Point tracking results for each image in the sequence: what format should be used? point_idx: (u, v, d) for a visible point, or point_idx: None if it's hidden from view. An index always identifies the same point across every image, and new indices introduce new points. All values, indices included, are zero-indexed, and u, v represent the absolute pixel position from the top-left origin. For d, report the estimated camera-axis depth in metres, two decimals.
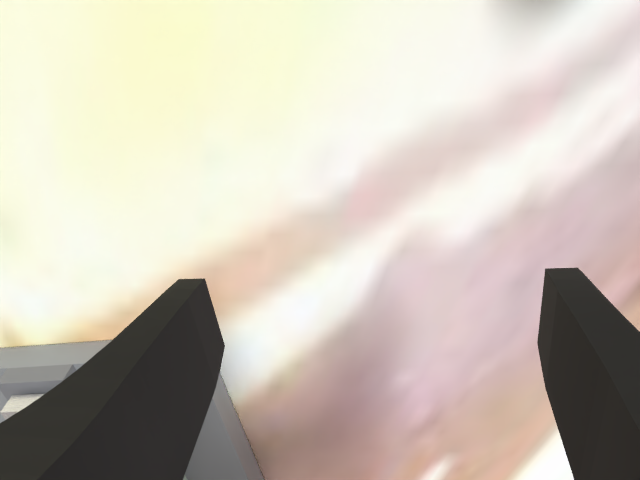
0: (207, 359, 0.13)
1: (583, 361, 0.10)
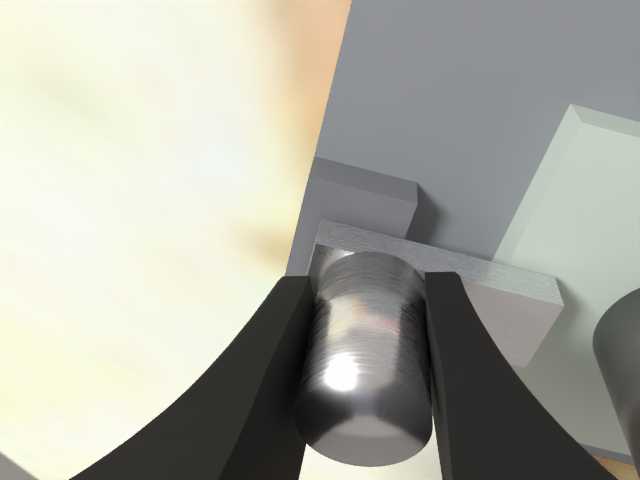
0: None
1: (436, 362, 0.10)
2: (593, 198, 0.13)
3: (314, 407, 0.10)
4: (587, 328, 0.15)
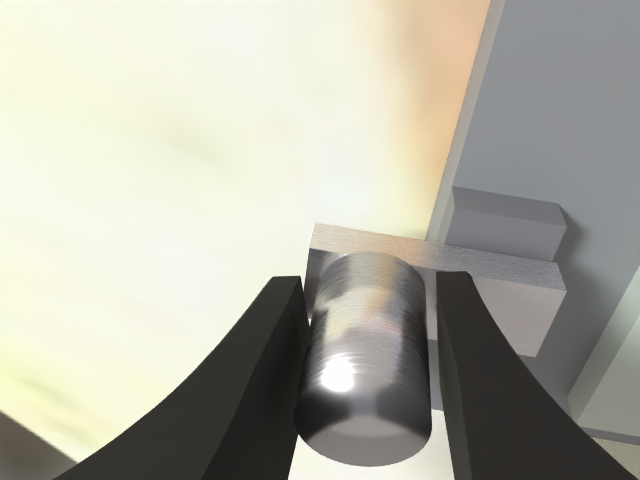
0: (303, 359, 0.12)
1: (450, 362, 0.10)
2: None
3: (312, 410, 0.10)
4: None
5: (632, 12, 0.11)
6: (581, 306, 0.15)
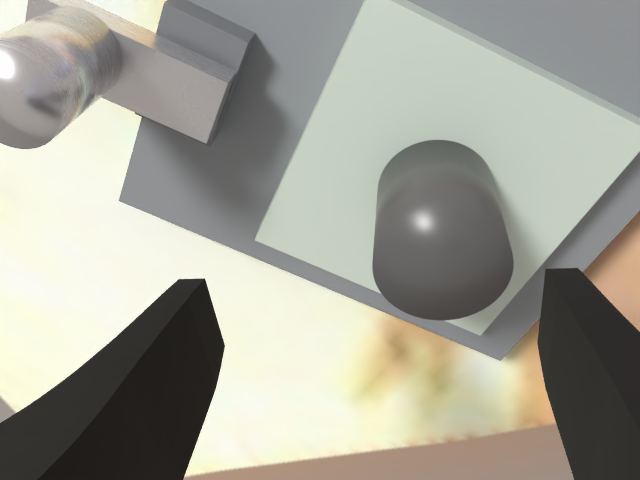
0: (207, 359, 0.13)
1: (583, 361, 0.10)
2: (378, 58, 0.16)
3: None
4: (374, 177, 0.19)
5: None
6: (272, 136, 0.19)
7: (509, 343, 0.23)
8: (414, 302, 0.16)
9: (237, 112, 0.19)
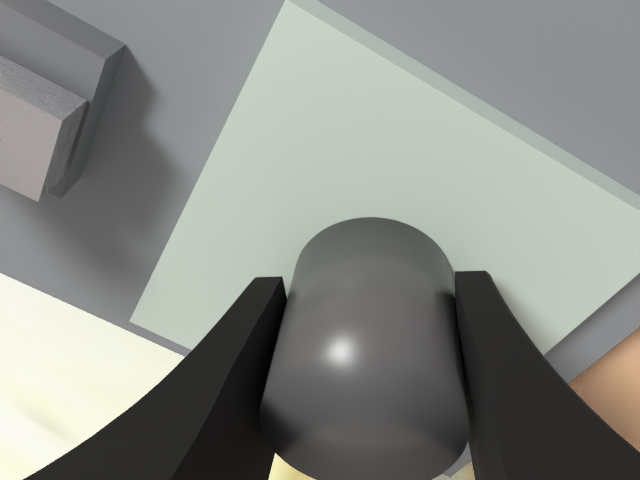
0: None
1: (473, 362, 0.10)
2: (297, 100, 0.11)
3: None
4: (289, 258, 0.13)
5: None
6: (155, 187, 0.14)
7: (462, 459, 0.18)
8: (322, 465, 0.11)
9: (105, 152, 0.13)
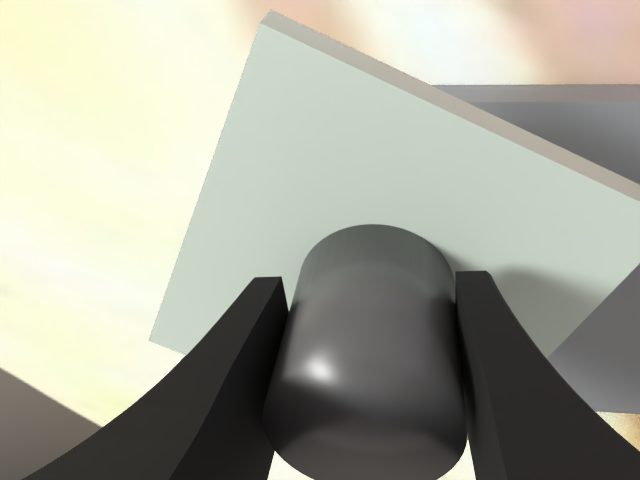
0: None
1: (473, 361, 0.10)
2: (281, 117, 0.12)
3: None
4: (292, 270, 0.14)
5: None
6: None
7: None
8: (329, 470, 0.11)
9: None
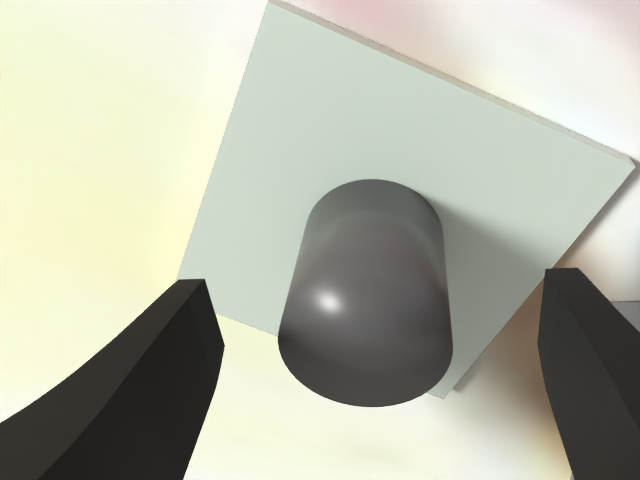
0: (207, 359, 0.13)
1: (583, 361, 0.10)
2: (287, 84, 0.13)
3: None
4: (299, 224, 0.15)
5: None
6: None
7: None
8: (336, 386, 0.13)
9: None
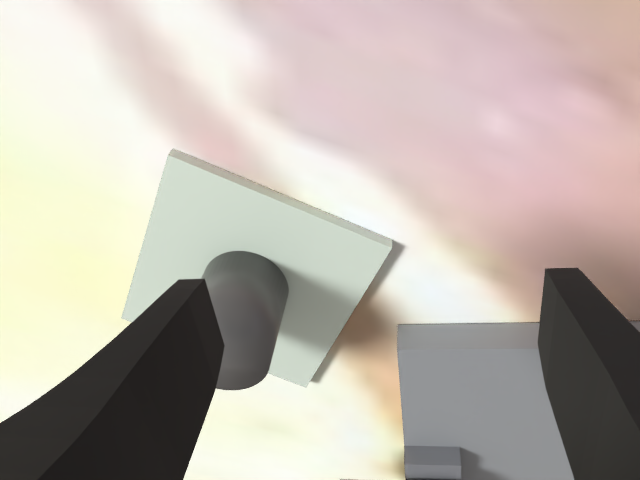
0: (207, 359, 0.13)
1: (583, 361, 0.10)
2: (183, 197, 0.22)
3: None
4: (199, 275, 0.24)
5: (457, 381, 0.25)
6: None
7: None
8: None
9: None
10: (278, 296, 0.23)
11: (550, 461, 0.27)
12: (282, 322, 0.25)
